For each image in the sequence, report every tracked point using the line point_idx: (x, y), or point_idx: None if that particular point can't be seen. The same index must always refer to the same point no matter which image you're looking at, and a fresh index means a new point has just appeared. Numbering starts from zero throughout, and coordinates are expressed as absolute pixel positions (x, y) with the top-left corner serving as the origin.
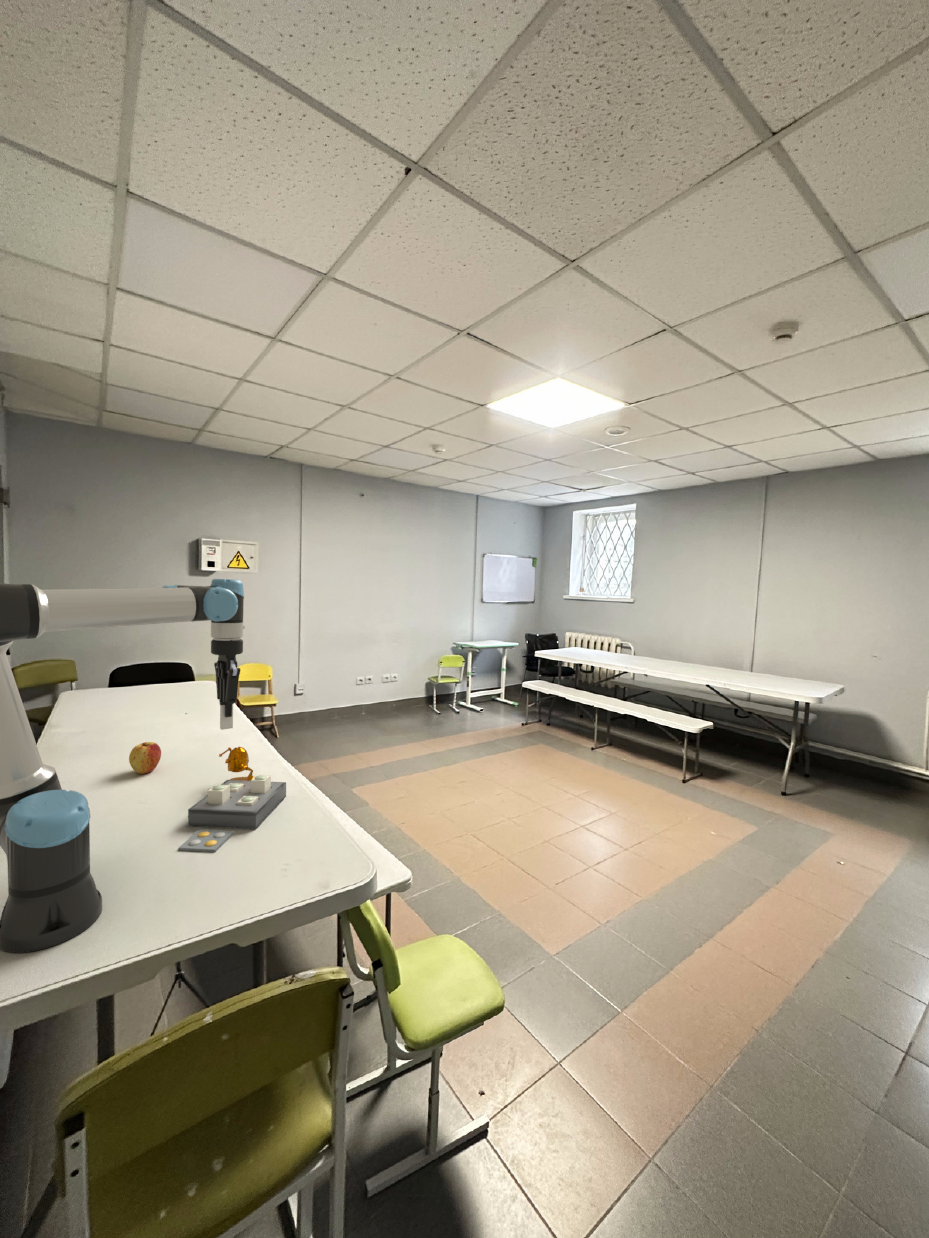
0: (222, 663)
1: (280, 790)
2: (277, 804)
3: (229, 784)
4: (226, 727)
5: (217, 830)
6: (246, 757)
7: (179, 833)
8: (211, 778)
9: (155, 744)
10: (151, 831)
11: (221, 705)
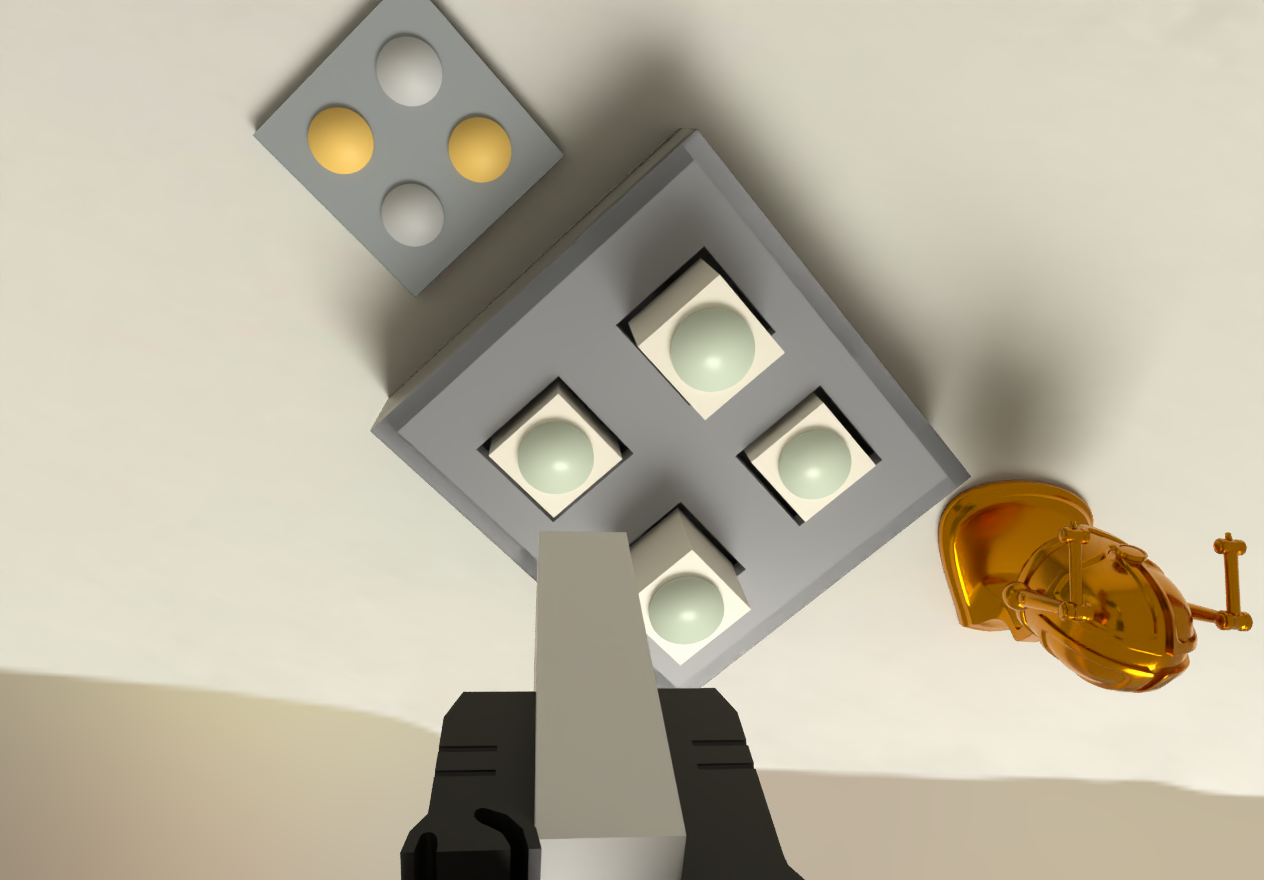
0: None
1: None
2: None
3: (847, 451)
4: (536, 602)
5: (481, 228)
6: (1058, 658)
7: (620, 55)
8: (1209, 451)
9: None
10: None
11: (579, 820)
